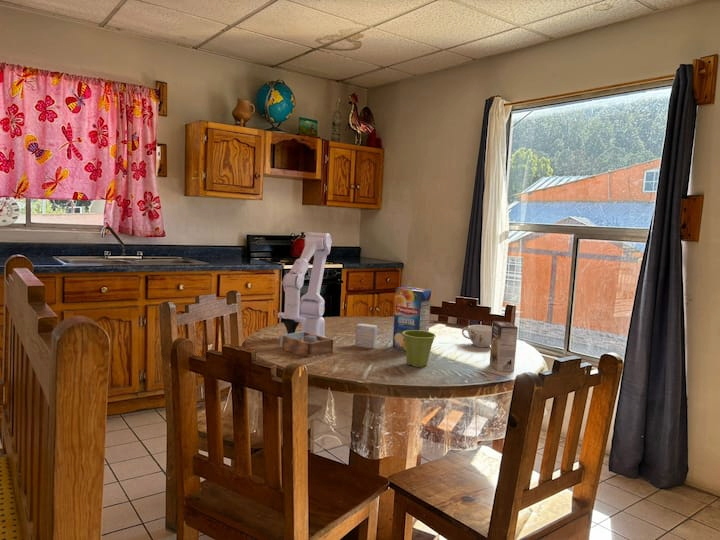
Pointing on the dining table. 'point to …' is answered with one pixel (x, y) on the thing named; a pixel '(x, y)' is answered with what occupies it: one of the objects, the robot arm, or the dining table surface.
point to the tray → (293, 336)
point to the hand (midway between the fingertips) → (290, 338)
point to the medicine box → (366, 336)
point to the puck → (309, 338)
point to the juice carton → (410, 313)
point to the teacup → (479, 335)
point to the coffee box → (503, 346)
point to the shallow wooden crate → (308, 346)
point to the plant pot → (418, 347)
